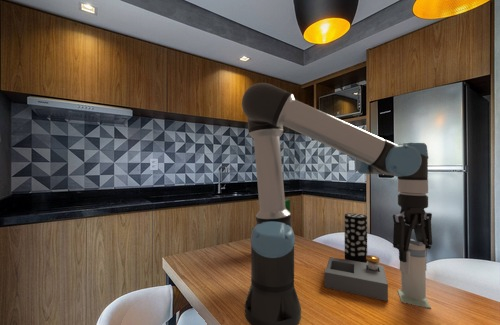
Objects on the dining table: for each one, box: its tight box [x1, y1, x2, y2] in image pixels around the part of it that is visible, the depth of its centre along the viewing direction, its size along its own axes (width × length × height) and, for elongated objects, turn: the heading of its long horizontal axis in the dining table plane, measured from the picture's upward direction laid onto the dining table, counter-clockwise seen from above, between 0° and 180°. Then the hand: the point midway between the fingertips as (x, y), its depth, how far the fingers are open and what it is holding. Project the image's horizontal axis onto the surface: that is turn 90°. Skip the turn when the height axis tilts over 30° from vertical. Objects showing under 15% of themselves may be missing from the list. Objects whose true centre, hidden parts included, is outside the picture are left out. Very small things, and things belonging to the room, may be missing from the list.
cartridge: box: [400, 238, 427, 299], centre depth 70 cm, size 6×6×16 cm
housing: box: [324, 256, 389, 302], centre depth 79 cm, size 14×18×5 cm
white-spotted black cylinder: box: [344, 212, 368, 263], centre depth 93 cm, size 8×8×20 cm
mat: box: [397, 289, 432, 310], centre depth 70 cm, size 7×7×1 cm
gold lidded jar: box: [366, 254, 380, 272], centre depth 79 cm, size 4×4×6 cm
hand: (413, 270), depth 70 cm, fingers closed on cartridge, 6 cm apart
